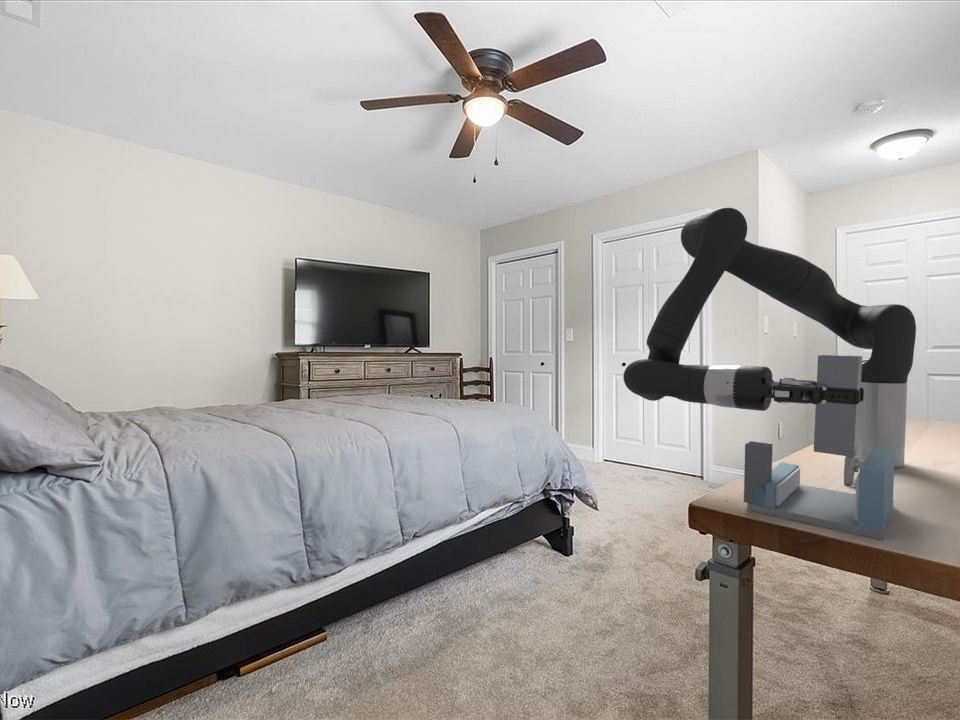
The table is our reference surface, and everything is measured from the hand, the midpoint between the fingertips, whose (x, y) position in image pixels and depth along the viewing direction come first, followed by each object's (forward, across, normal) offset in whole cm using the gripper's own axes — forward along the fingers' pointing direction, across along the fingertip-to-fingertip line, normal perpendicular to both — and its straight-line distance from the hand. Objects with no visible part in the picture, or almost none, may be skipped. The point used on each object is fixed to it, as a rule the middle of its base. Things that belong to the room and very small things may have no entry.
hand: (860, 395), depth 73 cm
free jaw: (-10, -3, +17) cm, 20 cm away
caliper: (-2, +26, +18) cm, 31 cm away
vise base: (-4, -2, +18) cm, 18 cm away
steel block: (-3, 0, +9) cm, 9 cm away
